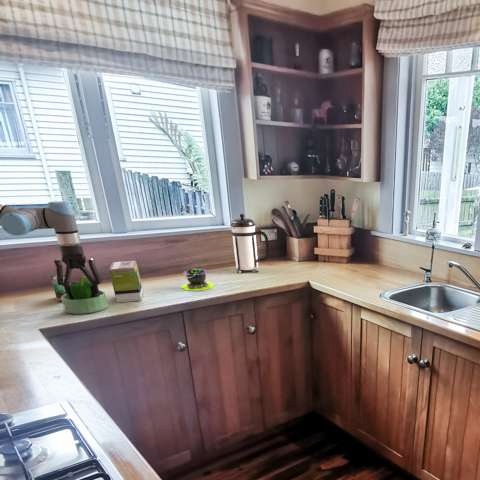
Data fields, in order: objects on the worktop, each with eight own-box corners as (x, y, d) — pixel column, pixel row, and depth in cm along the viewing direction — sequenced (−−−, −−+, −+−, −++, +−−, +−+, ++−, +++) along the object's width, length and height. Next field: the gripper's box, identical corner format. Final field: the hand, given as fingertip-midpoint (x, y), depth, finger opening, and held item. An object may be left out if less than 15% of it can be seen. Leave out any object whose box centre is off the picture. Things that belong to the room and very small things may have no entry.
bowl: (58, 315, 182) (54, 300, 180) (74, 304, 196) (70, 290, 193) (100, 314, 184) (96, 299, 182) (113, 303, 198) (110, 289, 196)
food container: (74, 301, 200) (68, 278, 196) (58, 303, 197) (51, 280, 193) (72, 294, 209) (66, 272, 205) (56, 296, 206) (50, 274, 202)
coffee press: (248, 275, 247) (242, 216, 234) (227, 271, 254) (220, 213, 242) (271, 269, 260) (267, 213, 247) (251, 265, 268) (246, 211, 255)
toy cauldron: (182, 284, 229) (178, 261, 224) (214, 282, 233) (210, 259, 228) (180, 291, 216) (176, 268, 211) (214, 289, 220) (211, 266, 215)
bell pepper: (78, 306, 184) (71, 281, 179) (70, 301, 189) (64, 277, 184) (100, 301, 189) (94, 277, 185) (93, 297, 194) (87, 274, 190)
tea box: (119, 294, 211) (111, 261, 204) (143, 292, 214) (137, 259, 208) (116, 303, 198) (108, 268, 192) (142, 301, 202) (135, 266, 195)
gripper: (102, 242, 184) (115, 298, 194) (45, 242, 181) (61, 299, 191) (95, 245, 177) (109, 303, 187) (35, 246, 174) (52, 304, 184)
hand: (85, 301), depth 189 cm, fingers closed on bell pepper, 8 cm apart
